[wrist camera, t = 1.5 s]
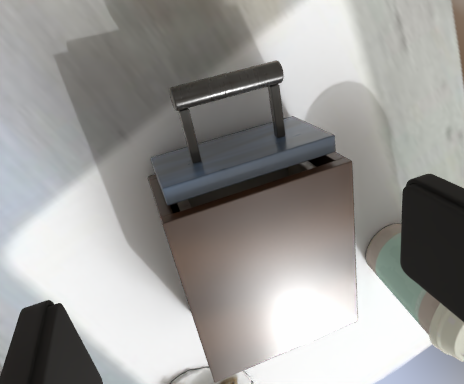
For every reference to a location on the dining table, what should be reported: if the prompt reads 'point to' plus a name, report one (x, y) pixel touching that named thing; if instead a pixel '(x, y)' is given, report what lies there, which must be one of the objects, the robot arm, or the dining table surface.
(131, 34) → the dining table surface
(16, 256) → the dining table surface
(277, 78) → the drawer
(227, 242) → the drawer cabinet
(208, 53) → the dining table surface
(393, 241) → the coffee cup
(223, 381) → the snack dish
